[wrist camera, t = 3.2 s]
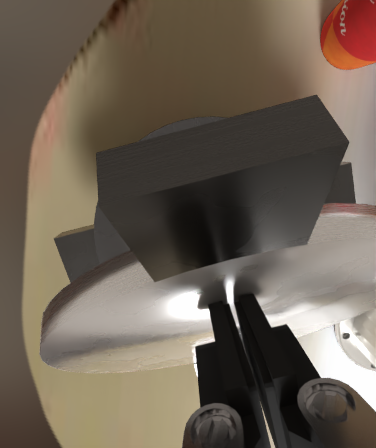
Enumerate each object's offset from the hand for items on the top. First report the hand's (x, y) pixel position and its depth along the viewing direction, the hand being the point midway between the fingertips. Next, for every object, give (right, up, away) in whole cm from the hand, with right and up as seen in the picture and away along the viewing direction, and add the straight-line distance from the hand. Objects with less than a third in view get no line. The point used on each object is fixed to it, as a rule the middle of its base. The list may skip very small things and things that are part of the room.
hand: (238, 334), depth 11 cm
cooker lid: (0, 0, +4) cm, 4 cm away
